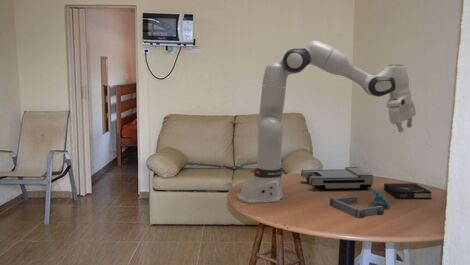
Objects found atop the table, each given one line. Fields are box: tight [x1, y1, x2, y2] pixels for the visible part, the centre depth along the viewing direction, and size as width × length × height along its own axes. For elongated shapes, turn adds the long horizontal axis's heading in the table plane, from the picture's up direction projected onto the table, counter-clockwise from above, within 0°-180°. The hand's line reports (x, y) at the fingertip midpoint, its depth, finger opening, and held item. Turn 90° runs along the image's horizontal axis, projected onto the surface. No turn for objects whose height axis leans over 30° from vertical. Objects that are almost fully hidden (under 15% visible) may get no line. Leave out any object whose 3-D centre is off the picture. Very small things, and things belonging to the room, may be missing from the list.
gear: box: [371, 189, 391, 208], centre depth 192 cm, size 11×6×10 cm
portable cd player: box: [383, 182, 433, 200], centre depth 212 cm, size 16×17×4 cm
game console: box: [300, 166, 374, 192], centre depth 227 cm, size 21×32×8 cm, turn 96°
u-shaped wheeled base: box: [329, 195, 385, 219], centre depth 187 cm, size 14×20×3 cm, turn 24°
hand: (405, 129), depth 194 cm, fingers open, 8 cm apart
